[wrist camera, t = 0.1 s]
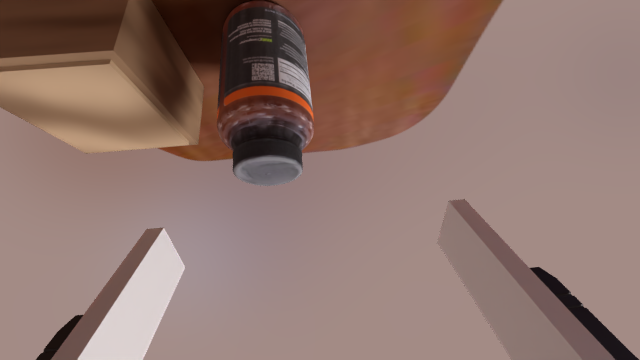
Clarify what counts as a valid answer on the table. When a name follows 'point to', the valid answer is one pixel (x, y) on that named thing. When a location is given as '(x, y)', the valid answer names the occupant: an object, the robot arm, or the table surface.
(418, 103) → the table surface
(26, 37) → the light wooden box
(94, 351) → the robot arm
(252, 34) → the supplement bottle
